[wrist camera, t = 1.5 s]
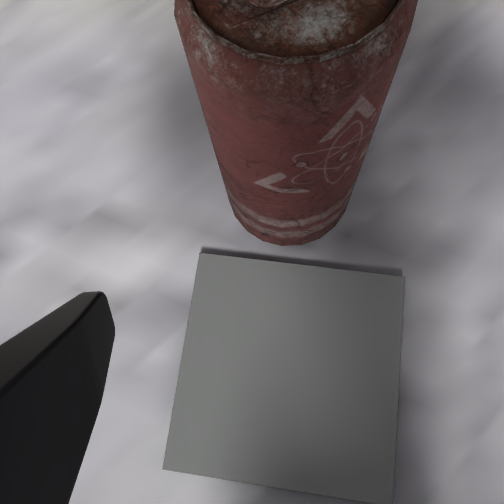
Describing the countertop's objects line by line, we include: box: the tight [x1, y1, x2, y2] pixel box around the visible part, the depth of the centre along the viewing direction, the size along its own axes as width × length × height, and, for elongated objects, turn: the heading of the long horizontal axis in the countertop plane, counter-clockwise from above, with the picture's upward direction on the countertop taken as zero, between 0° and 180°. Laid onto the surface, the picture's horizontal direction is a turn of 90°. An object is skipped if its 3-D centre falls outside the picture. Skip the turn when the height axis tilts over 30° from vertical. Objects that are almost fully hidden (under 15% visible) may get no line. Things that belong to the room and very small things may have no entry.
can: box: [174, 0, 418, 246], centre depth 18 cm, size 6×6×14 cm
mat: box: [163, 253, 405, 504], centre depth 22 cm, size 10×10×1 cm
